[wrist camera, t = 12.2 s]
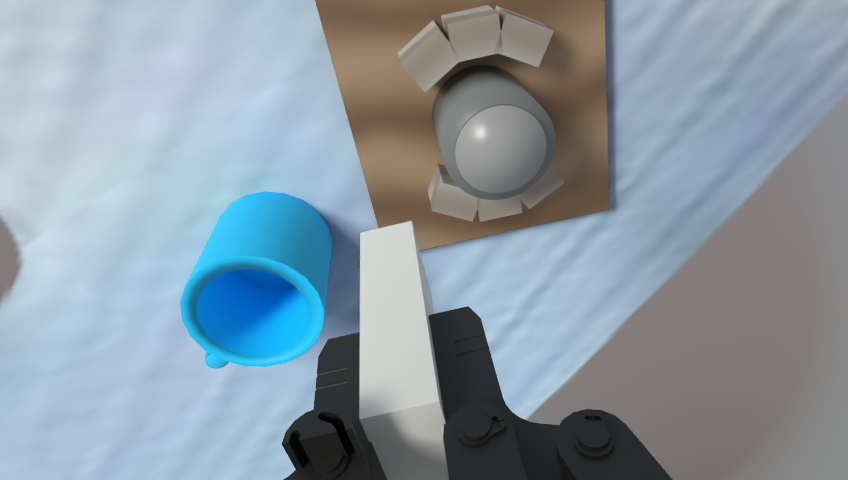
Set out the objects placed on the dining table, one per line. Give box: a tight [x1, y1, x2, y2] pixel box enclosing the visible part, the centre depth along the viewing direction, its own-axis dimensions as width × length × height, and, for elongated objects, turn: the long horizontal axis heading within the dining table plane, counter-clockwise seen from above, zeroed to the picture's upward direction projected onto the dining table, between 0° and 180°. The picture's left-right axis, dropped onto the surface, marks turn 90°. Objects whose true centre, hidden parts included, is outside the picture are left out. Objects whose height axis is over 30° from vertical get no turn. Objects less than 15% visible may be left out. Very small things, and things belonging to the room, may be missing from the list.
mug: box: [180, 192, 332, 368], centre depth 36 cm, size 12×8×8 cm
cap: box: [432, 65, 556, 200], centre depth 31 cm, size 6×6×6 cm
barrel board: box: [315, 0, 609, 250], centre depth 33 cm, size 18×16×4 cm
